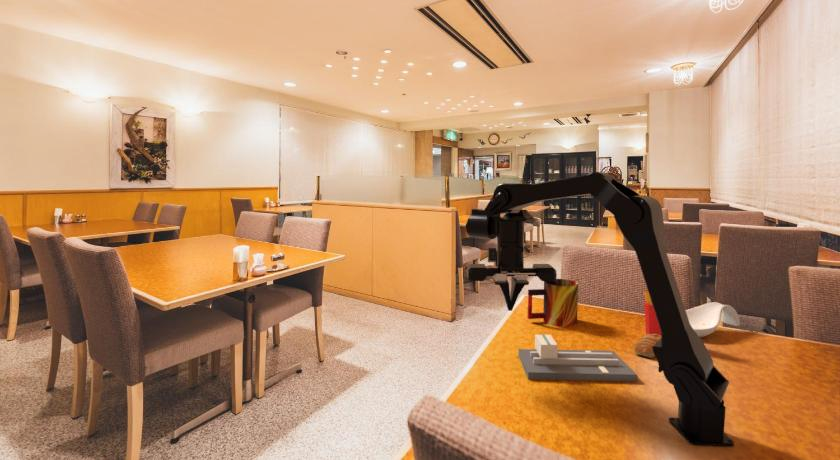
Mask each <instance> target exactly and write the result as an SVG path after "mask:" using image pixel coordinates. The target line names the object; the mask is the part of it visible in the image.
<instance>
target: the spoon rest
mask: <svg viewBox="0 0 840 460" xmlns="http://www.w3.org/2000/svg"><path fill="white" fill-rule="evenodd" d="M685 310H686V314H687V317H688V320H689V323H690V325H691V327H692V328H693V330H694V331H695V332H696V333H697V335H698V336H699V337H700V338H705V337H706V336H708V335H711V334H713V333H714V332H715V331H716V330H717V329H718V327H719V324H720V322H722V323H724V324H727V325H731V326H735V327H740V326H741V321H740V316H739V314H738V313H737V310H736V308H734V307H733V306H731V305H730V304H723V303H720V302H716V301H713V302H707V303H704V304H702V305H698V306H694V307H692V308H689V309H685ZM703 324H705V325H703Z"/></svg>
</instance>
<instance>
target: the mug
mask: <svg viewBox="0 0 840 460" xmlns="http://www.w3.org/2000/svg"><path fill="white" fill-rule="evenodd" d="M533 296H543V312H533ZM578 303H579V283H578V281H575V280H572V279H567V278H556V281H543V288H538V289H533V288H532V289H528V290H527V315H526V317H527V319H528V320H533V319H534V320H535V319H538V320H539V319H542V320H543V322H544V323H546V324H548V325H550V326H555V327H559V328H560V327H562V328H565V327H566V328H567V327H568V328H569V327H574V326H577V325H578V305H579V304H578Z"/></svg>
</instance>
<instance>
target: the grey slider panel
mask: <svg viewBox="0 0 840 460" xmlns="http://www.w3.org/2000/svg"><path fill="white" fill-rule="evenodd" d="M517 349H518V348H517ZM517 352H518V355H517V356H518V358H519V360H520V363H521V365H522V367H523V370H524V372H525V375H526V377H527V380H546V381H547V380H551V381H553V380H554V381H556V380H557V381H589V382H590V381H594V382H596V381H599V382H634V383H635V382H638V374H637V373H636V372H635V370H633V369H632V368H631V367H630V366H629V365H628V364H627V363H626V362H625V361H624V360H623V359H622V357H620V356H619V355H618V354H617V353H616V352H615V351H614V350H597V349H596V350H592V349H591V350H590V349H589V350H588V349H586V350H585V349H584V350H583V349H558V355H557V359H554V358H540V356H539V354H538V352H537V350H536V348H534V349H531V348H530V349H528V348H524V349H523V348H519V349H518V351H517Z"/></svg>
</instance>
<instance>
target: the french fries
mask: <svg viewBox="0 0 840 460" xmlns="http://www.w3.org/2000/svg"><path fill="white" fill-rule="evenodd" d="M643 295H644V300H645V302H643V303H644V304H643V305H644V318H645V321H644V322H645V335H647V334H658V335H661V330H660V327H659V323H658V320H657V317H656V314H655V311H654V308H653V305H652V302H651V298H650V295H649V292H648V290H646V291H643ZM682 301H683V302H684V299H683V298H682Z"/></svg>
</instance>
